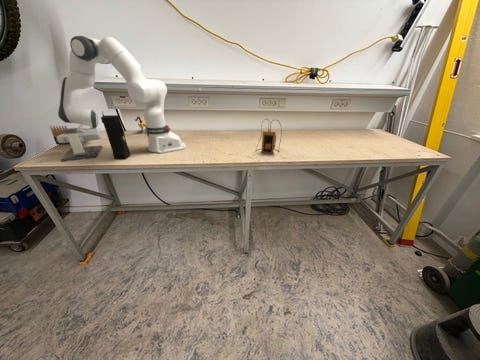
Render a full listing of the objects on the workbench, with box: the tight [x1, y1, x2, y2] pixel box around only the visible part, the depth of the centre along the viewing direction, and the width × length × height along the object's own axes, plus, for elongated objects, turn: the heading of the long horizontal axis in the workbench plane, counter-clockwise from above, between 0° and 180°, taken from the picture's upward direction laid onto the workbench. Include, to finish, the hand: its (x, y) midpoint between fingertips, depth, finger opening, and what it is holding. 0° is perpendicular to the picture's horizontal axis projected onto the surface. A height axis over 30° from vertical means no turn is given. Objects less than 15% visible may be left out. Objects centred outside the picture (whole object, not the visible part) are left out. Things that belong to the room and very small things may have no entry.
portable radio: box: [100, 111, 131, 160], centre depth 105 cm, size 8×6×25 cm
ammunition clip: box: [49, 125, 71, 146], centre depth 126 cm, size 11×2×12 cm, turn 91°
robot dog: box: [134, 115, 146, 134], centre depth 151 cm, size 6×18×13 cm, turn 176°
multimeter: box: [255, 118, 283, 154], centre depth 118 cm, size 15×10×20 cm
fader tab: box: [63, 127, 86, 156], centre depth 106 cm, size 5×4×14 cm
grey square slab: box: [59, 144, 104, 163], centre depth 114 cm, size 16×18×2 cm
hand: (75, 140), depth 107 cm, fingers closed, pressing on fader tab
